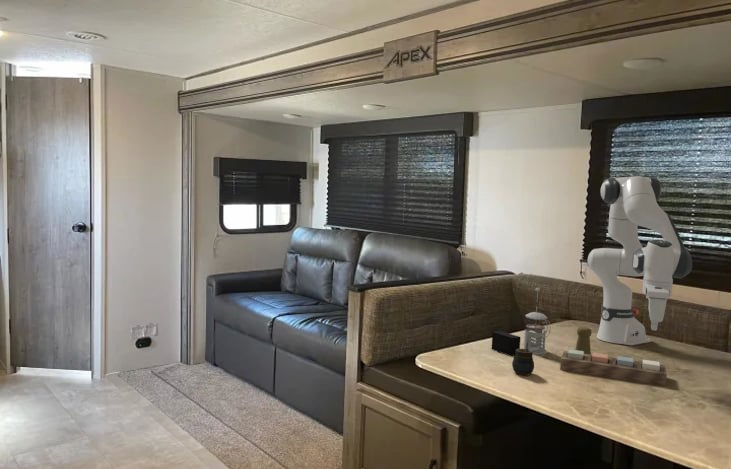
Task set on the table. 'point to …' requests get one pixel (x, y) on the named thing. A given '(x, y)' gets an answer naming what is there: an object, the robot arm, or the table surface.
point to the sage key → (575, 354)
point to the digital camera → (505, 342)
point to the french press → (538, 335)
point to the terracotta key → (600, 357)
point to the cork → (583, 340)
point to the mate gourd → (523, 361)
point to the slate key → (624, 361)
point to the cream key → (651, 365)
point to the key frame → (614, 369)
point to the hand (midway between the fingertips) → (653, 329)
